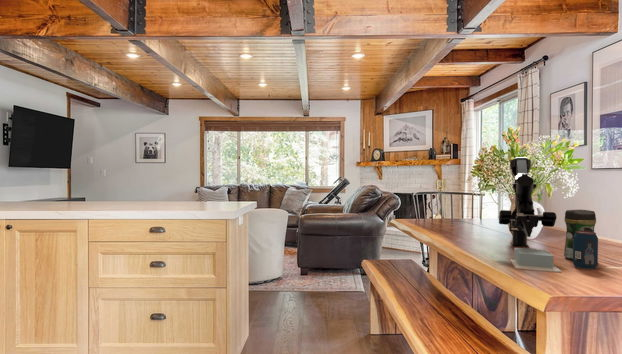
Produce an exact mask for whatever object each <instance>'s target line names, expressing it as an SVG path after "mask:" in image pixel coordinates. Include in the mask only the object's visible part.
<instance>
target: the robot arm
mask: <svg viewBox="0 0 622 354" xmlns="http://www.w3.org/2000/svg"><path fill="white" fill-rule="evenodd" d="M531 169H532V160H531V159H529V157H526V156H520V157H515V158H514V159H510V161H509V170H510V171H511V176H512V177H513V179H514V181H512V186H511V187H512V191H514V205H515V206H514V209H513V211H512V210H509V209H508V210H505V209H504V210H503V209H500V211H499V214H498V224H500V225H507V226H508V229H509V230H508V231H509V232H512V237H511V238H512V239H511V242H510V244H511V246H513V247H525V248H529V247H530V246H529V244H528V238H531V235H532V233H533V229H534V228H537V227H538V225H539V222H541V225H542V226H543V227H549V228H550V227H551V228H552V227H554V226H555V224H556V221H557V213H556V212H555V211H543V212H542V214H535V208H534V201H533V197H532V194H533V192H534V191H535V188H537V184H536V182H535V180H534V178H533V177H532V176H531V175H529V173H530V171H531Z"/></svg>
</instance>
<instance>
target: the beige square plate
mask: <svg viewBox="0 0 622 354" xmlns="http://www.w3.org/2000/svg"><path fill="white" fill-rule="evenodd" d="M509 262H511V264H512V265H513V267H514V268H515V269H516V270H525V271H526V270H527V271H539V272H549V273H550V272H551V273H562V270H561V269H559V267H557V266H556V265H555V264H554V263H553V268H546V267H533V266H521V265H518V263H517V262H516V261H515V259H514V258H513V259H512V258H511V259H510V260H509Z"/></svg>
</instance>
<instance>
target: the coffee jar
mask: <svg viewBox="0 0 622 354" xmlns="http://www.w3.org/2000/svg"><path fill="white" fill-rule="evenodd" d="M564 223H565V225H566V234H565V243H564V250H563V251H564V253H563V256H564V258H566V259H567V260H569V261H570V260H572V261H573V236H574V234H575V233H576V231H588V232H595V226H596V224H597V217H596V212H595V211H593V210H589V209H566V211H565V213H564Z"/></svg>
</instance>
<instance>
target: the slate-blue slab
mask: <svg viewBox="0 0 622 354" xmlns="http://www.w3.org/2000/svg"><path fill="white" fill-rule="evenodd" d="M513 260H515V261H516V262H517V263H518V265H521V266H533V267H546V268H553V264H554V255H553V254H551V252H549V251H548V250H546V249H543V248H541V249H538V248H528V247H525V248H524V247H523V248H522V247H514V248H513Z"/></svg>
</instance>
